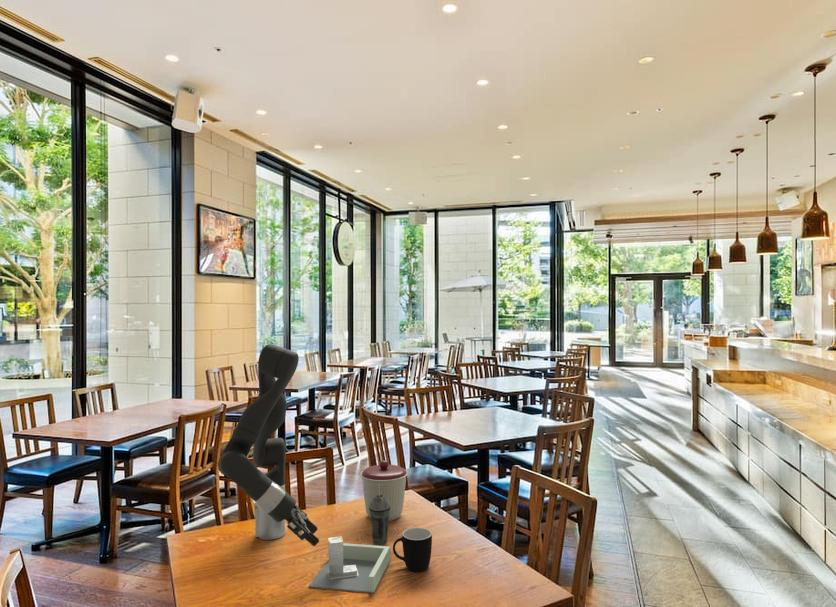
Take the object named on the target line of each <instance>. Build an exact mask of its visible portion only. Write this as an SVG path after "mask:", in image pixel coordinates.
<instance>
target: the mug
mask: <svg viewBox="0 0 836 607" xmlns="http://www.w3.org/2000/svg"><path fill="white" fill-rule="evenodd" d="M399 542H401V543H402V550H403V552H402V553H403V556H402V555H400V554H398V552H397V550H396V546H397V543H399ZM432 545H433V533H432V531H431V530H430V529H428V528H424V527H410V528H408V529H407V528H406V529H405V530H404V531H403V532H402V535H401V537H399V538H397V539H396V540H395V541H394V542H393V545H392V553H393V555H394V556H395V557H396V558H397V559H399V560H402V561H403V562H404V565H405V566H406V569H407V570H408V571H410V572H413V573H422V572H425V571H427V569H429V566H430V564H431V563H430V562H431V559H432V557H431V556H432Z"/></svg>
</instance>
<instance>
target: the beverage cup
mask: <svg viewBox="0 0 836 607" xmlns="http://www.w3.org/2000/svg"><path fill="white" fill-rule="evenodd" d="M369 510H370V515H371V519H370V522H371V523H370V524H371V534H372V542H373V545H376V546H385V545H386V544H387V543H388V535H389V534H388V531H389V522H390V521H389V513H390V503H389V500H388V499H387V498H386V497H385V496H383V495H380V483H378V495H377V496H375V497H374V498H373V499H372V500H371V502H370V507H369Z"/></svg>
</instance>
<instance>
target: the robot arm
mask: <svg viewBox="0 0 836 607" xmlns="http://www.w3.org/2000/svg"><path fill="white" fill-rule="evenodd" d="M299 358H300V356H299V353H297V352H296V351H294V350H291V349H288V348H285V347H282V346H280V345H279V346H278V345H275V344H271V343H270V344H266V345H265V346H264V347H263V348H262V349H261V351H260V354H259V356H258V362H257V374H258V375H257V376H258V378H257V379H258V395H257V396H258V398H257V399H256V400H254V401H253V402H252V403H250V404H249V405H248V406H247V407H246V408H245V409H244V411H243V412H242V414H241V416H240V417H239V420H238V422H237V424H236V426H235V428H234V431H233V433H232V435H231V437H230V439H229V440H228V442H227V444H226V446H224V447H225V448H224V449H223V451H222V452H221V455H220V456H219V458H218V461H217V468H218V471H219V472H220V473H221V474H222V475H224V476H226V477H228V479H230V480H231V481H232V482H233V483H234V484H236V485H238V486H239V487H240V488H241V490H242V491H243V492H244V494H246V495H247V497H249V498H250V499H251V500H252V501H253V502H255V503H256V504H257V508H255V509H254V510H255V512H254V513H255V514H254V516H255V518H254V520H255V524H254V525H255V526H254V527H255V528H254V530H255V532H254V534H255V535H254V536H255V538H258V537H259V538H258V539H260V540H263V541H264V540H265V541H270V540H276V539H280V538H282V537H284V536H285V534H286V527H287V529H289V530H290V531H291V532H292V533H293V534H294V535H295V536H297V537H298V539H300V540H301V541H304V540H306V541H307V542H308V543H309V544H310V545H311V546H312V547H316V546H317V545H318V544H319V542H320V539H319V538H318V536H316V535H315V533H316V532H317V531H318V528H319V527H317V525H316V524H314V523H313V522H312V521H311V520H310V518H309V517H308V514H307V513H306V512H305V511H303V509H301V508H300V507H299V506H298V505H296V503H297V501H296V498H294V497H293V496H291V495H290V494H289V493H288V492H287V491H286V453H287V452H286V449H287V448H286V447H287V446H286V441H285V440H284V438H283V437H274V438H270V437H271V436H272V435H274V433H275V432H277V430H278V429H279V428H280V427H281V426H282V425H283V424H284V422H285V419H286V415H287V414H286V413H287V405H288V404H287V399H286V396H285V394H284V392H285V390H286V388H287V386H288V385H289V383H290V381H291V380H292V378H293V376H295V375H294V374H295V372H296V370H297V368H298V365H299V361H300V360H299ZM252 447H253V449H252ZM251 449H252V460H253V462H252V460H251V459H250V458H249V457H248V456H249V453H250V451H251ZM271 466H273V468H272V469H270V470H269V471H267V472H265V473H264V472H263V471H261V470H260V469H258V467H260V468H262V467H263V468H264V467H271ZM286 522H287V523H286ZM286 524H287V526H286Z"/></svg>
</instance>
